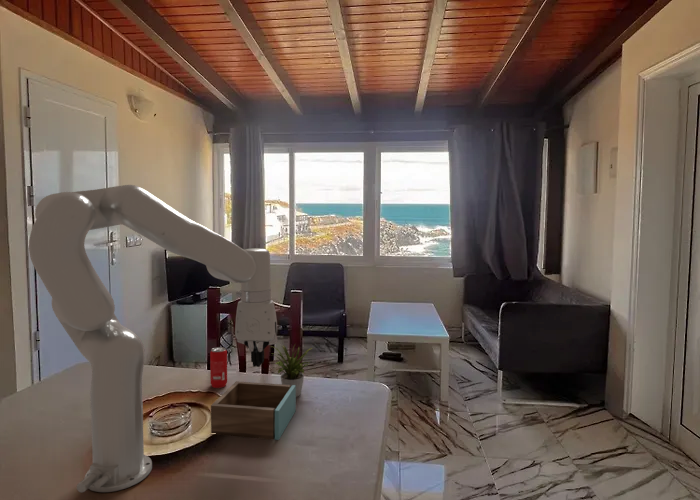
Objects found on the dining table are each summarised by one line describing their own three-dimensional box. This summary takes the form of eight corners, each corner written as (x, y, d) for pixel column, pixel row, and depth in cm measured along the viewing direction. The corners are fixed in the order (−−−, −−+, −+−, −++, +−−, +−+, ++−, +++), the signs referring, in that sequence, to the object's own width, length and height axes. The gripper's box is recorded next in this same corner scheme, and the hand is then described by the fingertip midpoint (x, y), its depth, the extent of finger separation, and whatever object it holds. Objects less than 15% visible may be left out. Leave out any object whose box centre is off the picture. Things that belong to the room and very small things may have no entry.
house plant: (256, 402, 128) (256, 348, 127) (275, 384, 142) (275, 335, 140) (301, 408, 125) (302, 352, 124) (316, 389, 138) (317, 339, 137)
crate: (273, 441, 106) (273, 410, 106) (211, 436, 108) (210, 405, 108) (290, 412, 122) (290, 385, 121) (236, 408, 124) (236, 381, 123)
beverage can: (207, 387, 139) (206, 350, 138) (216, 381, 144) (216, 346, 143) (221, 389, 137) (221, 352, 136) (230, 383, 142) (230, 347, 141)
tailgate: (278, 440, 106) (278, 410, 105) (274, 439, 106) (274, 410, 105) (295, 410, 122) (295, 385, 121) (292, 410, 122) (292, 385, 121)
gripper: (222, 298, 110) (224, 368, 111) (279, 299, 108) (281, 371, 109) (234, 292, 117) (236, 358, 119) (288, 294, 115) (289, 361, 117)
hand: (257, 364), depth 114 cm, fingers closed
